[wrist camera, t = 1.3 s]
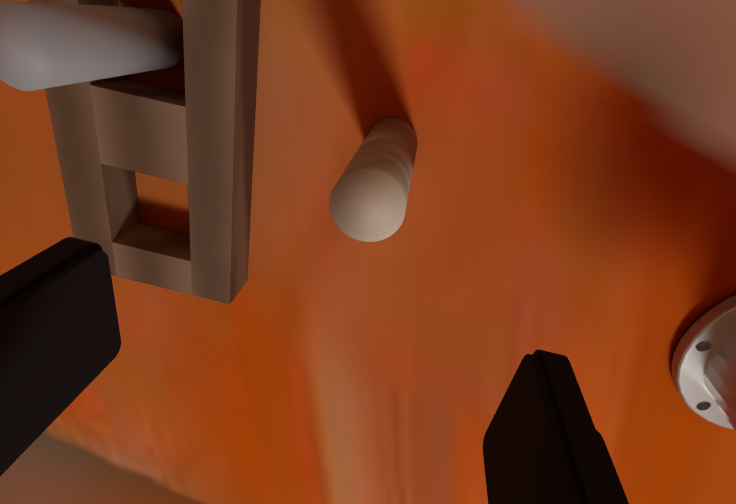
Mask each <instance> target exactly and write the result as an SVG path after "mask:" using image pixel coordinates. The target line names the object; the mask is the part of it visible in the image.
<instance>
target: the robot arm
mask: <svg viewBox="0 0 736 504" xmlns="http://www.w3.org/2000/svg"><path fill="white" fill-rule="evenodd" d="M120 346H121V338H120V331H119V325H118V318H117V311H116V305H115V298H114V292H113V285H112V278H111V272H110V265H109V259H108V255H107V254H106V252H103V249H102V247H101V246H100V245H99V244H97V243H95V242H91V241H86V240H82V239H78V238H74V237H68V238H65V239H63V240H61V241H60V242H58V243H56V244H54V245H53V246H51V247H49V248H47V249H46V250H44V251H42V252H40V253H39V254H37V255H35V256H34V257H32V258H30V259H28V260H27V261H25V262H23V263H21V264H20V265H18V266H16V267H15V268H13V269H11V270H9V271H8V272H6V273H4V274H2V275H1V276H0V476H1V475H2V474H3V473H4V472H5V471H6V470H7V469H8V468H9V467H10V466H11V465H12V464H13V463H14V462H15V460H16V459H17V458H18V457H19V456H20V455H21V454H22V453H23V452H24V451H25V450H26V449H27V448H28V447H29V446H30V445H31V444H32V443H33V442H34V441H35V440H36V439H37V438H38V437H39V436H40V435H41V434H42V433H43V432H44V431H45V429H46V428H47V427H48V426H49V425H50V424H51V423H52V422H53V421H54V420H55V419H56V418H57V417H58V416H59V415H60V414H61V413H62V412H63V411H64V410H65V409H66V408H67V407H68V406H69V405H70V404H71V403H72V402H73V401H74V399H75V398H76V397H77V396H78V395H79V394H80V393H81V392H82V391H83V390H84V389H85V388H86V387H87V386H88V385H89V384H90V383H91V382H92V381H93V380H94V379H95V378H96V377H97V376H98V375H99V374H100V373H101V372H102V371H103V369H104V368H105V367H106V366H107V365H108V364H109V363H110V362H111V361H112V360H113V359H114V358H115V357H116V356H117V354H118V352H119V350H120ZM671 368H672V379H673V382H674V384H675V387H676V389H677V391H678V392H679V394H680V395H681V397H682V399H683V400H684V402H685V403H686V404H687V405H688V407H689V408H690V409H691V410H692V411H693V412H695V413H696V414H698V415H699V416H701V417H702V418H704V419H705V420H707V421H709V422H712V423H714V424H717V425H719V426H722V427H726V428H730V429H734V430H735V431H736V295H735V296H733V297H730V298H728V299H726V300H724V301H723V302H721V303H720V304H718V305H717V306H715V307H714V308H712V309H710V310H709V311H707V312H706V313H705V314H704V315H703V316H702V317H700V318H699V319H698V320H697V321H696V322H695V323H694V324H693V325H692V326H691V327H690V328H689V329H688V331H687V332H686V333H685V334H684V336H683V337H682V338H681V340H680V342H679V344H678V346H677V348H676V350H675V352H674V356H673V360H672V364H671ZM483 456H484V466H485V475H486V485H487V495H488V504H629V503H628V500H627V498H626V495H625V493H624V490H623V488H622V485H621V483H620V480H619V477H618V475H617V472H616V470H615V467H614V465H613V462H612V460H611V457H610V455H609V452H608V450H607V447H606V444H605V442H604V440H603V438H602V436H601V434H600V433H599V432H598V431H597V430H596V429H595V427H594V424H593V421H592V419H591V416H590V414H589V411H588V408H587V406H586V403H585V401H584V398H583V395H582V393H581V390H580V388H579V385H578V382H577V380H576V377H575V375H574V372H573V369H572V367H571V364H570V362H569V360H568V358H567V357H566V356H564V355H560V354H555V353H551V352H547V351H543V350H536V351H535V352H534V353H533V355H530V354H526V355H525V356H524V358H523V359H522V361H521V363H520V365H519V367H518V369H517V371H516V373H515V375H514V377H513V379H512V381H511V383H510V385H509V387H508V389H507V391H506V393H505V395H504V397H503V399H502V401H501V403H500V405H499V407H498V409H497V411H496V413H495V415H494V417H493V419H492V421H491V423H490V425H489V427H488V429H487V431H486V433H485V436H484V441H483Z"/></svg>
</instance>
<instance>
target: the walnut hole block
mask: <svg viewBox="0 0 736 504" xmlns="http://www.w3.org/2000/svg"><path fill="white" fill-rule="evenodd" d="M28 1H29V2H40V3H60V4H80V5H100V6H118V0H28ZM260 3H261V0H182V11H183V41H184V71H185V92H181V91H177V90H173V89H168V88H164V87H159V86H155V85H151V84H146V83H142V82H137V81H133V80H129V79H125V75H123V76H117V77H111V78H105V79H99V80H93V81H87V82H81V83H75V84H69V85H63V86H57V87H51V88H45V90H46V95H47V100H48V105H49V111H50V116H51V121H52V126H53V131H54V137H55V142H56V147H57V152H58V158H59V163H60V168H61V173H62V178H63V184H64V189H65V194H66V199H67V205H68V210H69V215H70V220H71V225H72V231H73V236H74V238H78V239H82V240H86V241H91V242H95V243H97V244H99V245H100V246H101V247H102V249H103V252H106V254H107V255H108V259H109V265H110V272H111V275H114V276H118V277H122V278H126V279H130V280H134V281H139V282H143V283H147V284H151V285H155V286H159V287H163V288H167V289H171V290H175V291H179V292H183V293H187V294H191V295H195V296H199V297H203V298H208V299H212V300H216V301H220V302H224V303H228V304H230V303H231V302H232V300H233V299H234V298H235V296H236V295H237V294H238V292H239V291H240V290H241V288H242V287H243V286H244V284H245V283H246V282H247V274H248V253H249V232H250V211H251V191H252V170H253V149H254V128H255V107H256V87H257V66H258V45H259V24H260ZM135 172H139V173H143V174H148V175H152V176H156V177H160V178H164V179H169V180H173V181H177V182H181V183H186V184H188V193H189V223H190V235H185V234H181V233H177V232H173V231H169V230H165V229H161V228H156V227H152V226H148V225H144V224H140V220H139V210H138V200H137V190H136V180H135Z"/></svg>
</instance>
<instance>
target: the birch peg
mask: <svg viewBox="0 0 736 504" xmlns="http://www.w3.org/2000/svg"><path fill="white" fill-rule="evenodd" d="M416 150H417V137H416V134H415V131H414V130H413V128H412V127H411V126H410V125H409V124H408V123H407V122H405V121H404V120H402V119H399V118H386V119H383V120H381V121H379V122H377V123H376V124H375V125H374V126H373V127H372V129H371V130H370V132H369V133H368V135H367V136H366V138H365V140H364V141H363V143H362V144H361V146H360V147H359V149H358V150H357V152H356V154H355V155H354V157H353V158H352V160H351V161H350V163H349V165H348V166H347V168H346V169H345V171H344V172H343V174H342V175H341V177H340V179H339V180H338V182H337V183H336V185H335V186H334V188H333V190H332V193H331V196H330V203H329V204H330V212H331V215H332V218H333V220H334V222H335V223H336V225H337V226H338V227H339V229H340V230H341V231H343V232H344V233H345V234H346V235H348V236H350V237H351V238H354V239H356V240H360V241H365V242H375V241H380V240H383V239H385V238H388V237H389V236H391V235H392V234H394V233H395V232H396V231H397V230H398V229H399V227H400V226H401V224H402V222H403V219H404V216H405V211H406V205H407V200H408V194H409V189H410V183H411V177H412V172H413V166H414V161H415V155H416Z"/></svg>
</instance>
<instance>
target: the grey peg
mask: <svg viewBox="0 0 736 504" xmlns="http://www.w3.org/2000/svg"><path fill="white" fill-rule="evenodd" d="M183 63H184V41H183V21H182V20H181V19H180V18H179V17H178V16H177V15H176V14H174V13H173V12H171V11H169V10H166V9H160V8H140V7H120V6H100V5H80V4H60V3H40V2H20V1H0V79H1V80H2V81H3V82H5V83H6V84H8V85H10V86H12V87H14V88H16V89H19V90H24V91H33V90H39V89H45V88H51V87H57V86H63V85H69V84H75V83H81V82H87V81H93V80H99V79H105V78H111V77H117V76H123V75H129V74H135V73H141V72H147V71H153V70H159V69H165V68H171V67H177V66H180V65H181V64H183Z"/></svg>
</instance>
